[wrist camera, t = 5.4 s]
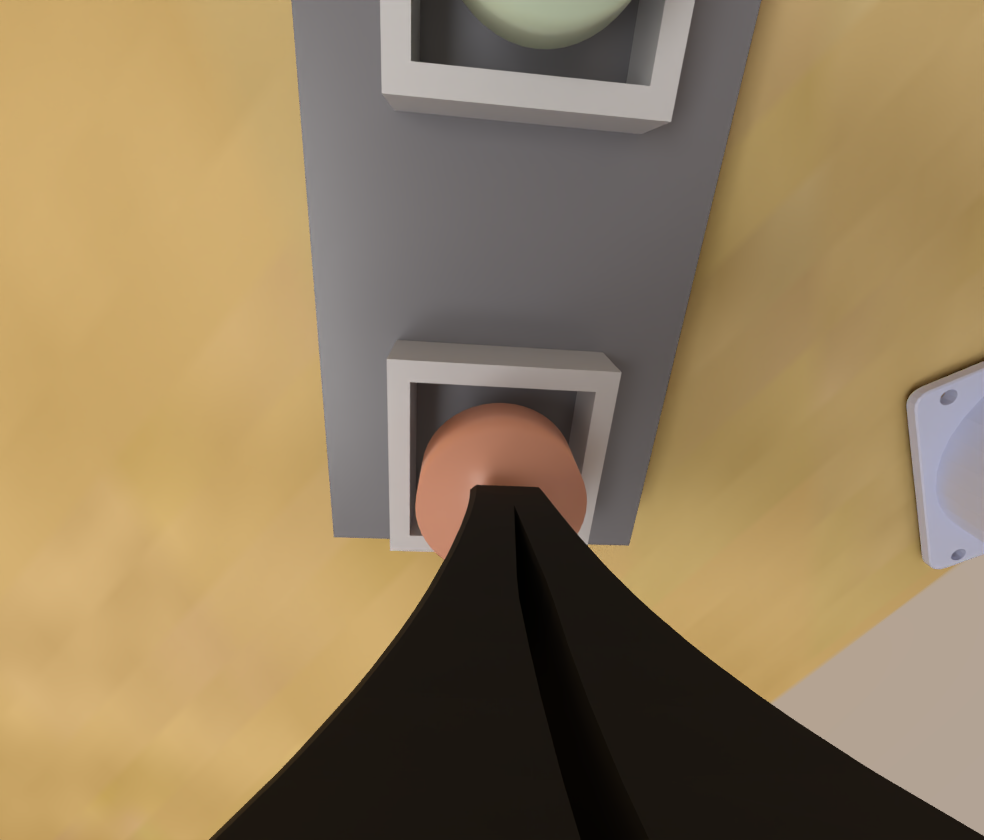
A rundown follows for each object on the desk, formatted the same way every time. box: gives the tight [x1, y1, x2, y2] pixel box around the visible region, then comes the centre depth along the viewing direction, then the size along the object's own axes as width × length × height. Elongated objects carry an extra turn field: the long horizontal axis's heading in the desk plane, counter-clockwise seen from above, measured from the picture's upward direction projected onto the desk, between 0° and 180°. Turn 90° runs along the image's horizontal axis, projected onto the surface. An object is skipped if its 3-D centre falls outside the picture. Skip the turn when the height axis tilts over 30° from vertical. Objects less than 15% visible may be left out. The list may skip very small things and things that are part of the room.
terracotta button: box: [415, 403, 587, 560], centre depth 11 cm, size 4×4×2 cm
